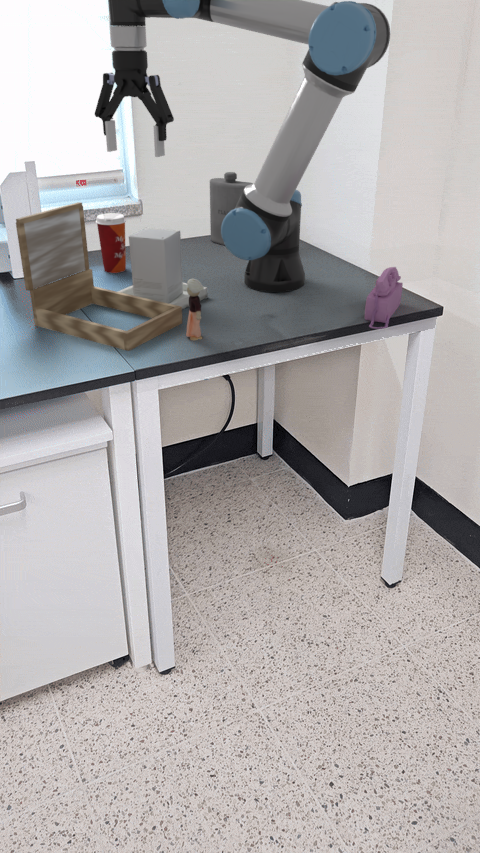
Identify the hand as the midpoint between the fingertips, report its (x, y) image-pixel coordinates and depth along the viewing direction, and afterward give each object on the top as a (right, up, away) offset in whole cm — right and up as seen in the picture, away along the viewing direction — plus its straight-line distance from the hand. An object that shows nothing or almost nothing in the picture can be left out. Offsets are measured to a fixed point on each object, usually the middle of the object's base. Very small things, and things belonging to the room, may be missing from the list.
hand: (135, 153), depth 165 cm
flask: (+21, -9, +47) cm, 53 cm away
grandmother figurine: (+15, -45, -16) cm, 50 cm away
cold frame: (-4, -41, -10) cm, 42 cm away
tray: (+5, -33, +3) cm, 34 cm away
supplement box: (+5, -33, +3) cm, 33 cm away
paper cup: (-9, -22, +25) cm, 34 cm away
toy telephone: (+56, -38, -4) cm, 68 cm away
